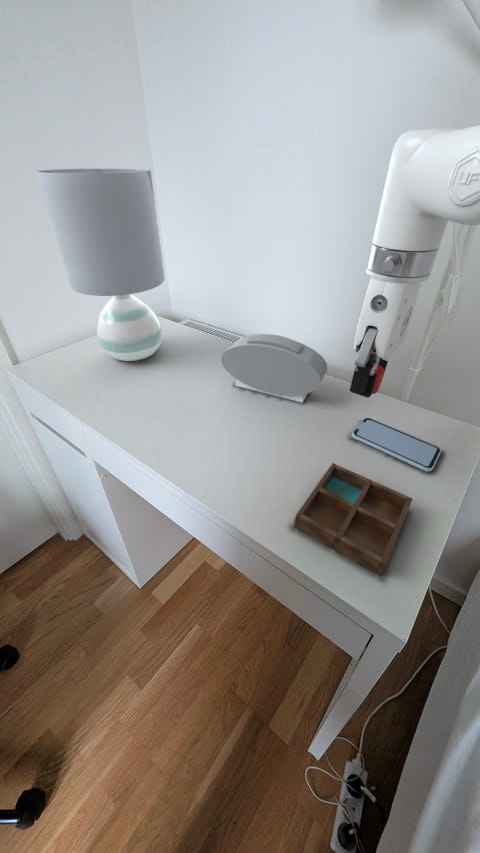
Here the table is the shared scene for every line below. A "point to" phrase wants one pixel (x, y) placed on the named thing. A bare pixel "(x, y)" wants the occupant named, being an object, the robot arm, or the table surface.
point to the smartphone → (397, 443)
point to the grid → (354, 517)
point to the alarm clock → (275, 366)
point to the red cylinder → (378, 378)
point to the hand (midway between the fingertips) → (365, 386)
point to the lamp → (110, 249)
